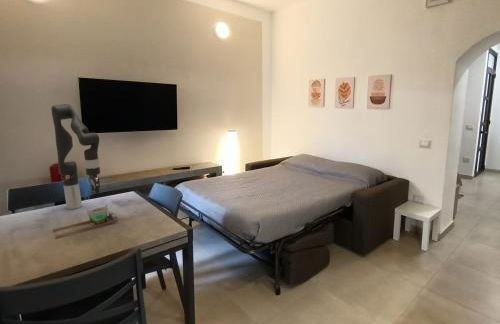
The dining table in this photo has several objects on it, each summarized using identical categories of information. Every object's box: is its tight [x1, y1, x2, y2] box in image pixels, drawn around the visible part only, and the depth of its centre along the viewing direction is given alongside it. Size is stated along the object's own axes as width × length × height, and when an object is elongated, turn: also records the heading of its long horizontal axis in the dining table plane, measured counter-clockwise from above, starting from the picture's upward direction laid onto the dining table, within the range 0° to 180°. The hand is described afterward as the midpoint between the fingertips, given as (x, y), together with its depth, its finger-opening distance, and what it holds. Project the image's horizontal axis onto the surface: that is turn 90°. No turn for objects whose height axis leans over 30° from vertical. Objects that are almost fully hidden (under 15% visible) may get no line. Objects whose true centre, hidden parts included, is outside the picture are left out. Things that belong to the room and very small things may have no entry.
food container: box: [86, 204, 109, 226], centre depth 175 cm, size 12×6×10 cm, turn 142°
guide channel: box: [52, 211, 118, 239], centre depth 172 cm, size 11×32×4 cm, turn 131°
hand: (95, 192), depth 173 cm, fingers open, 8 cm apart
